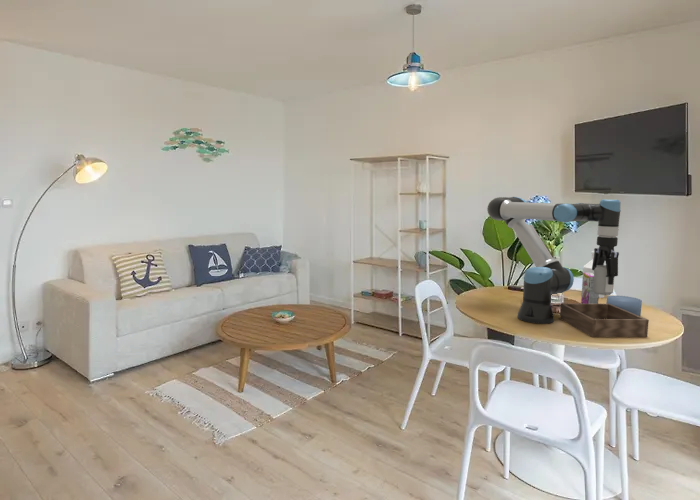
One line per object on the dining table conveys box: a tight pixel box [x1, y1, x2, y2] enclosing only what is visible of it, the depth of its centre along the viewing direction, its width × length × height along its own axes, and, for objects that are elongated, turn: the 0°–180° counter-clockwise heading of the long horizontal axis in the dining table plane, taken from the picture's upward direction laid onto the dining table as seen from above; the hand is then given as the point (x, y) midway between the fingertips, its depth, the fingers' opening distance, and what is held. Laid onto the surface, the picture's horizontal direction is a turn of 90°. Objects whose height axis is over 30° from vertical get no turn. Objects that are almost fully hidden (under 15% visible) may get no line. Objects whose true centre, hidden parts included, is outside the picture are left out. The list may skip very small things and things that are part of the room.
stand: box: [605, 295, 643, 317], centre depth 207 cm, size 14×14×8 cm
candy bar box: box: [580, 272, 600, 304], centre depth 224 cm, size 11×5×16 cm, turn 168°
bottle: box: [581, 250, 606, 299], centre depth 247 cm, size 12×12×25 cm
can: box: [593, 264, 615, 296], centre depth 187 cm, size 8×8×12 cm
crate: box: [559, 303, 650, 338], centre depth 189 cm, size 22×26×7 cm
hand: (602, 289), depth 187 cm, fingers closed on can, 7 cm apart
